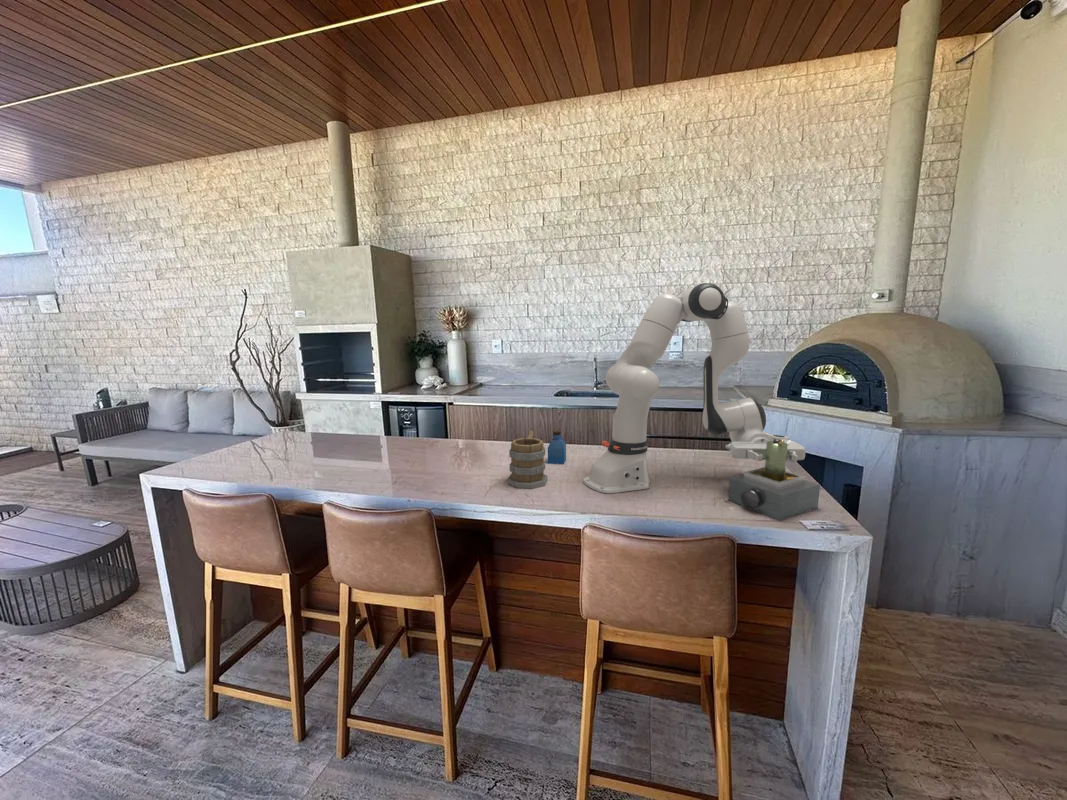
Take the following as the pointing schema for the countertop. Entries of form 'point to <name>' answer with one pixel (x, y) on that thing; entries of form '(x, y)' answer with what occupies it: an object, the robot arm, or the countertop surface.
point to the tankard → (527, 463)
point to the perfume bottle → (557, 449)
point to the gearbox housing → (774, 494)
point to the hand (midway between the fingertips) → (777, 458)
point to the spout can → (775, 460)
